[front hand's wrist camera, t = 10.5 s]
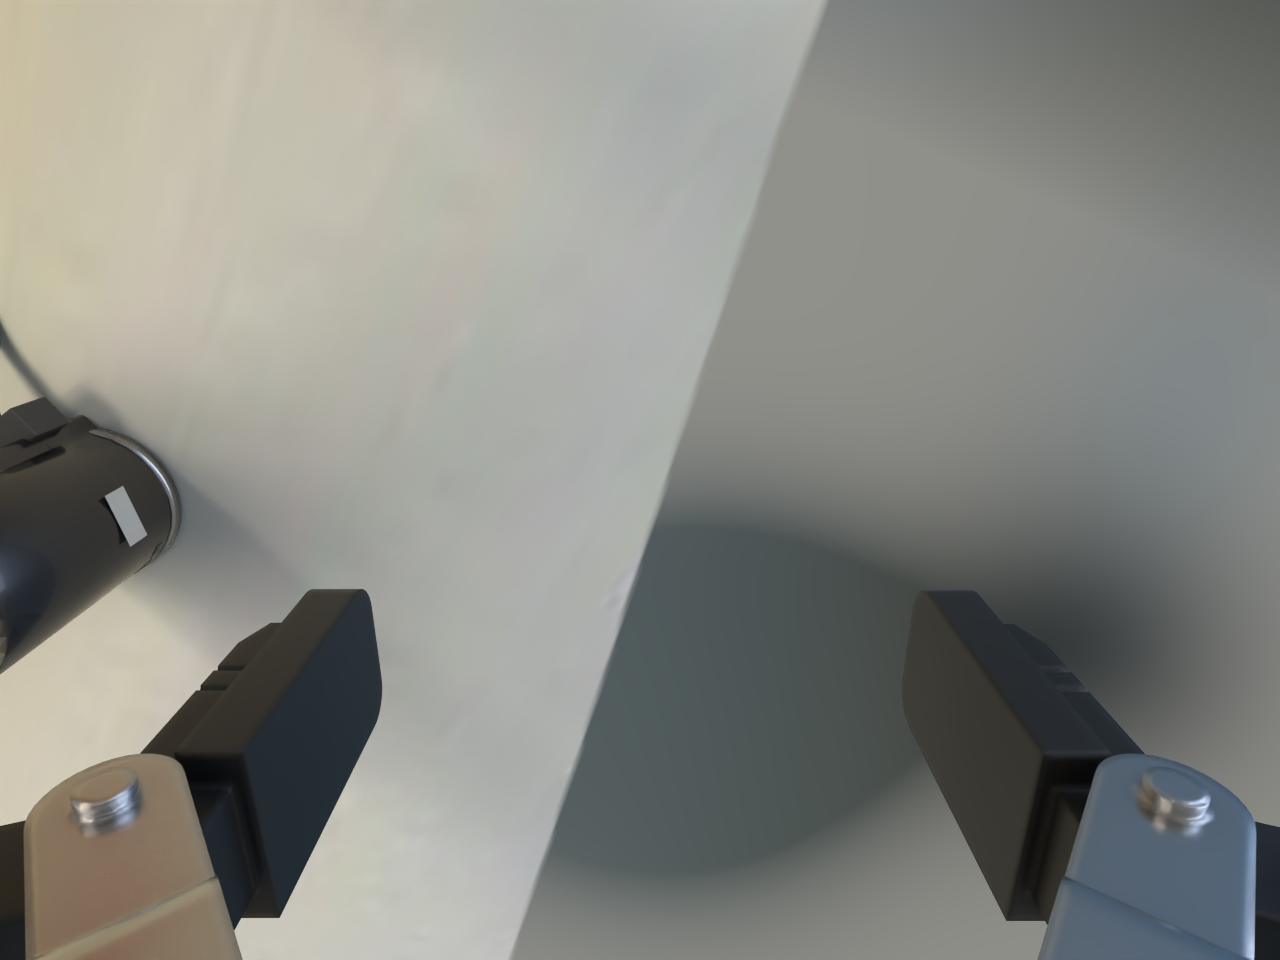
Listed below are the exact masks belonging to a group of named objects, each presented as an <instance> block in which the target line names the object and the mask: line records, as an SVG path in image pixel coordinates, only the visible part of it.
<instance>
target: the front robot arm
mask: <svg viewBox="0 0 1280 960" xmlns="http://www.w3.org/2000/svg"><path fill="white" fill-rule="evenodd" d="M180 521H181V506H180V500H179V496H178V493H177V490H176V487H175V485H174V483H173V481H172V479H171V477H170V476H169V474H168V472H167V471H166V470H165V468H164V467H163V466H162V464H161V463H160V462H159V461H158V460H157V459H156V458H155V457H154V456H153V455H152V454H151V453H150V452H149V451H147V450H146V449H145V448H144V447H142V446H141V445H139V444H138V443H136V442H134V441H133V440H131V439H129V438H127V437H125V436H123V435H121V434H118V433H115V432H112V431H109V430H105V429H101V428H97V427H96V426H94V425H93V424H92V423H91V422H90V421H89V420H88V419H87V418H86V417H85V416H83V415H80V416H77V417H75V418H72V419H69V420H67V419H66V418H65V417H64V416H63V415H62V414H61V413H60V412H59V411H58V410H57V408H56V407H55V406H54V405H53V404H52V403H51V402H50V401H49V400H48V399H47V398H46V397H42V398H39V399H37V400H34V401H31V402H28V403H25V404H22V405H19V406H16V407H13V408H10V409H9V410H8V411H7V412H5V413H4V414H3V415H2V416H1V414H0V674H1V673H3V672H4V671H5V670H7V669H8V668H9V667H11V666H12V665H13V664H15V663H16V662H17V661H19V660H20V659H21V658H23V657H24V656H25V655H27V654H28V653H29V652H31V651H32V650H33V649H35V648H36V647H37V646H39V645H40V644H41V643H43V642H44V641H45V640H47V639H48V638H49V637H51V636H52V635H53V634H55V633H56V632H57V631H59V630H60V629H61V628H63V627H64V626H65V625H67V624H68V623H69V622H71V621H72V620H73V619H75V618H76V617H77V616H78V615H80V614H81V613H82V612H84V611H85V610H86V609H88V608H89V607H90V606H92V605H93V604H94V603H96V602H97V601H98V600H100V599H101V598H102V597H104V596H105V595H106V594H108V593H109V592H110V591H112V590H113V589H114V588H116V587H117V586H118V585H120V584H121V583H122V582H124V581H125V580H126V579H127V578H129V577H130V576H131V575H133V574H135V573H136V572H138V571H139V570H141V569H142V568H143V567H145V566H146V565H148V564H150V563H151V562H153V561H154V560H155V559H157V558H158V557H159V556H161V555H162V554H163V553H164V552H165V551H166V550H167V549H168V548H169V547H170V546H171V544H172V543H173V541H174V540H175V538H176V536H177V533H178V530H179V527H180ZM381 699H382V679H381V671H380V664H379V657H378V649H377V642H376V635H375V628H374V621H373V613H372V606H371V601H370V598H369V595H368V594H367V592H366V591H365V590H363V589H311V590H309V591H308V592H307V593H306V594H305V595H304V596H303V598H302V599H301V600H300V601H299V602H298V604H297V605H296V606H295V607H294V608H293V610H292V611H291V612H290V613H289V614H288V616H287V617H286V618H285V619H284V620H283V622H282V623H270V624H268V625H267V626H265V627H263V628H262V629H260V630H259V631H257V632H255V633H254V634H252V635H250V636H249V637H247V638H246V639H244V640H242V641H241V642H239V643H238V644H237V645H236V646H235V647H234V649H233V650H232V651H231V652H230V653H229V654H228V655H227V656H226V658H225V659H224V660H223V661H222V662H221V663H220V664H219V665H218V670H217V671H213V672H212V673H211V674H210V676H209V677H208V678H207V679H206V680H205V681H204V682H203V683H202V685H201V689H200V691H195V692H194V694H193V695H192V696H191V697H190V698H189V699H188V700H187V701H186V703H185V704H184V705H183V706H182V707H181V708H180V709H179V710H178V712H177V713H176V714H175V715H174V716H173V717H172V718H171V719H170V720H169V722H168V723H167V724H166V725H165V726H164V727H163V728H162V729H161V731H160V732H159V733H158V734H157V735H156V736H155V737H154V738H153V740H152V741H151V742H150V743H149V744H148V745H147V746H146V747H145V749H144V750H143V751H142V752H141V753H140V754H135V755H128V756H123V757H119V758H114V759H111V760H108V761H105V762H102V763H99V764H97V765H94V766H91V767H89V768H87V769H85V770H83V771H81V772H79V773H77V774H75V775H73V776H71V777H70V778H68V779H66V780H64V781H63V782H62V783H60V784H59V785H57V786H56V787H54V788H53V789H52V790H51V791H49V792H48V793H47V794H46V795H45V796H44V797H42V798H41V800H40V801H39V802H38V803H37V804H36V805H35V806H34V807H33V809H32V810H31V812H30V813H29V815H28V817H27V819H26V821H21V822H17V823H12V824H8V825H3V826H0V960H242V956H241V953H240V950H239V946H238V943H237V940H236V936H235V933H234V930H235V928H236V926H237V924H238V923H239V921H240V919H241V918H280V916H281V914H282V912H283V910H284V908H285V906H286V904H287V902H288V900H289V898H290V896H291V894H292V892H293V890H294V888H295V886H296V884H297V882H298V880H299V877H300V875H301V873H302V871H303V869H304V867H305V865H306V863H307V861H308V859H309V857H310V855H311V853H312V851H313V849H314V847H315V845H316V843H317V841H318V839H319V837H320V835H321V833H322V831H323V829H324V827H325V825H326V823H327V821H328V819H329V817H330V815H331V813H332V811H333V809H334V807H335V805H336V803H337V801H338V799H339V797H340V795H341V793H342V791H343V789H344V787H345V785H346V783H347V781H348V779H349V777H350V775H351V773H352V771H353V769H354V767H355V765H356V763H357V761H358V759H359V757H360V755H361V753H362V751H363V749H364V747H365V745H366V743H367V741H368V739H369V737H370V735H371V733H372V730H373V728H374V726H375V724H376V722H377V719H378V715H379V712H380V706H381ZM902 701H903V708H904V713H905V717H906V720H907V723H908V726H909V728H910V730H911V732H912V734H913V736H914V738H915V740H916V742H917V744H918V746H919V748H920V750H921V752H922V754H923V756H924V758H925V760H926V762H927V764H928V766H929V768H930V770H931V772H932V774H933V776H934V778H935V780H936V782H937V784H938V786H939V788H940V790H941V792H942V793H943V796H944V798H945V799H946V802H947V804H948V805H949V808H950V809H951V811H952V813H953V815H954V817H955V819H956V821H957V823H958V825H959V827H960V829H961V831H962V833H963V835H964V837H965V839H966V841H967V843H968V845H969V847H970V849H971V851H972V853H973V855H974V857H975V859H976V861H977V863H978V865H979V867H980V869H981V871H982V873H983V875H984V877H985V879H986V881H987V883H988V885H989V887H990V889H991V891H992V893H993V895H994V897H995V899H996V901H997V903H998V905H999V907H1000V909H1001V911H1002V913H1003V915H1004V917H1005V919H1006V921H1046V923H1047V925H1048V926H1047V930H1046V933H1045V936H1044V940H1043V943H1042V946H1041V950H1040V953H1039V956H1038V960H1280V827H1276V826H1271V825H1267V824H1263V823H1259V822H1255V821H1254V819H1253V817H1252V815H1251V813H1250V812H1249V810H1248V809H1247V807H1246V806H1245V805H1244V804H1243V803H1242V802H1241V801H1240V800H1239V799H1238V797H1236V796H1235V795H1234V794H1233V793H1232V792H1231V791H1229V790H1228V789H1227V788H1226V787H1224V786H1223V785H1221V784H1220V783H1218V782H1217V781H1215V780H1214V779H1212V778H1210V777H1209V776H1207V775H1205V774H1203V773H1201V772H1199V771H1197V770H1195V769H1193V768H1191V767H1189V766H1186V765H1183V764H1181V763H1178V762H1175V761H1172V760H1169V759H1166V758H1161V757H1157V756H1152V755H1145V754H1144V752H1143V751H1142V750H1141V749H1140V748H1139V747H1138V746H1137V745H1136V744H1135V743H1134V741H1133V740H1132V739H1131V738H1130V737H1129V736H1128V735H1127V734H1126V733H1125V731H1124V730H1123V729H1122V728H1121V727H1120V726H1119V725H1118V724H1117V722H1116V721H1115V720H1114V719H1113V718H1112V717H1111V716H1110V715H1109V714H1108V712H1107V711H1106V710H1105V709H1104V708H1103V707H1102V706H1101V705H1100V703H1099V702H1098V701H1097V700H1096V699H1095V698H1094V697H1093V696H1092V695H1091V693H1089V692H1085V687H1084V686H1083V685H1082V683H1081V682H1080V681H1079V680H1078V679H1077V678H1076V677H1075V676H1074V675H1073V673H1072V672H1068V671H1067V667H1066V666H1065V665H1064V663H1063V662H1062V661H1061V660H1060V659H1059V658H1058V657H1057V656H1056V655H1055V653H1054V652H1053V651H1052V650H1051V649H1050V648H1049V647H1048V646H1047V644H1045V643H1043V642H1042V641H1040V640H1039V639H1037V638H1035V637H1034V636H1032V635H1030V634H1029V633H1027V632H1026V631H1024V630H1022V629H1021V628H1019V627H1017V626H1016V625H1014V624H1003V623H1002V622H1001V621H1000V620H999V618H998V617H997V616H996V615H995V614H994V612H993V611H992V610H991V609H990V608H989V606H988V605H987V604H986V603H985V602H984V600H983V599H982V598H981V597H980V596H979V595H978V594H977V593H976V592H975V591H971V590H922V591H920V592H918V594H917V595H916V597H915V600H914V603H913V608H912V615H911V622H910V630H909V637H908V644H907V651H906V658H905V665H904V672H903V680H902Z"/></svg>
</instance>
